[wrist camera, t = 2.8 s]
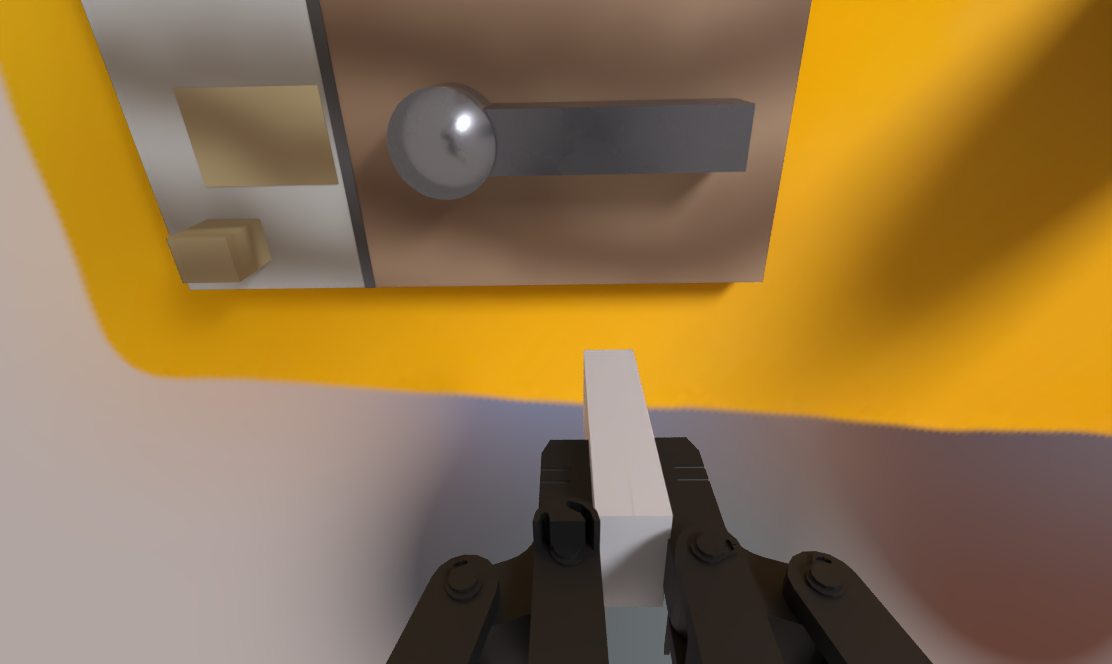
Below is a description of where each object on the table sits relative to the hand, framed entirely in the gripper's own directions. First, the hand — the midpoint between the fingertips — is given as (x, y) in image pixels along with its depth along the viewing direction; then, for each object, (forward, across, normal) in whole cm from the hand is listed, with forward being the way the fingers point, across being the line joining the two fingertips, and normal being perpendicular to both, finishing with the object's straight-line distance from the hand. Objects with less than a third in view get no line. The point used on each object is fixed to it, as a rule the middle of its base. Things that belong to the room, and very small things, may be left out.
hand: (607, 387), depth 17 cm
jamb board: (+12, -6, +9) cm, 16 cm away
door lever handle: (+9, -1, +6) cm, 11 cm away
